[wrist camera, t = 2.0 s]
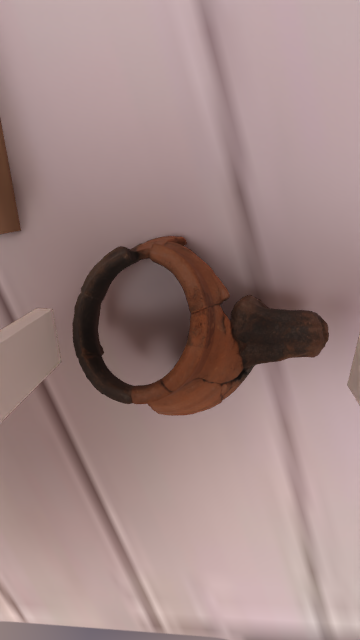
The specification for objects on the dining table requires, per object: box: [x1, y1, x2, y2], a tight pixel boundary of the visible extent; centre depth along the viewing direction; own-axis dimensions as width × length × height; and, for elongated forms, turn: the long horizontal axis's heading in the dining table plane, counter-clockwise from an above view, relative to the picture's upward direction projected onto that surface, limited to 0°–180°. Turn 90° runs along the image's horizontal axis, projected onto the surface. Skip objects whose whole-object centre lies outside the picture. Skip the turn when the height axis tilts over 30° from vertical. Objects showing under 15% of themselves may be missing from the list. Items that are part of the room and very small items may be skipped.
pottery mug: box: [73, 236, 329, 415], centre depth 17 cm, size 12×10×8 cm
